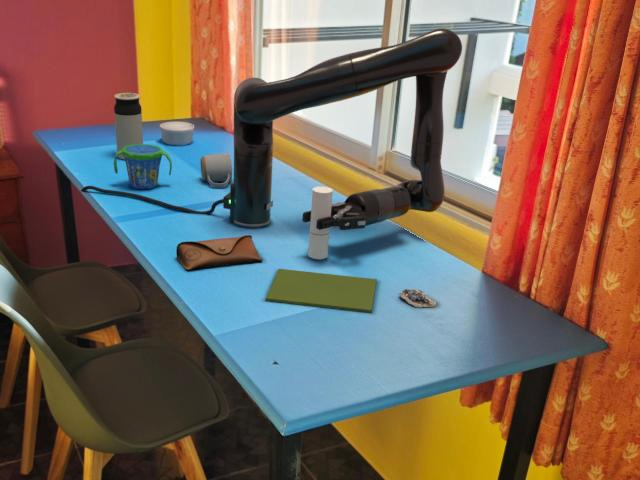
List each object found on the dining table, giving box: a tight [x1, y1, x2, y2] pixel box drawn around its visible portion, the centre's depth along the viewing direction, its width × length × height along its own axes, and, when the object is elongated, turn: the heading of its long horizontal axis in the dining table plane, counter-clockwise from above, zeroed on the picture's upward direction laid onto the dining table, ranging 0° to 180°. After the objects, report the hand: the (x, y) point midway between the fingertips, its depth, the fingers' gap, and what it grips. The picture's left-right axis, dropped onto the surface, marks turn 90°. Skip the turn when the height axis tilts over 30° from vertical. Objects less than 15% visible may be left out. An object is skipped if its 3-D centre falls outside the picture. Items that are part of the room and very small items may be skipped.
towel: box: [265, 268, 378, 314], centre depth 158 cm, size 21×15×1 cm
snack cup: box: [113, 143, 173, 190], centre depth 210 cm, size 16×10×10 cm
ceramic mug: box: [200, 152, 233, 189], centre depth 215 cm, size 11×8×8 cm
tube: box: [307, 186, 334, 260], centre depth 168 cm, size 4×4×15 cm
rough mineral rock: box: [397, 288, 437, 308], centre depth 155 cm, size 7×8×2 cm
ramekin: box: [159, 120, 195, 146], centre depth 250 cm, size 11×11×5 cm
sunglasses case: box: [175, 234, 263, 271], centre depth 170 cm, size 18×7×7 cm, turn 112°
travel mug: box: [113, 92, 144, 161], centre depth 231 cm, size 8×8×18 cm
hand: (310, 221), depth 167 cm, fingers closed on tube, 4 cm apart
